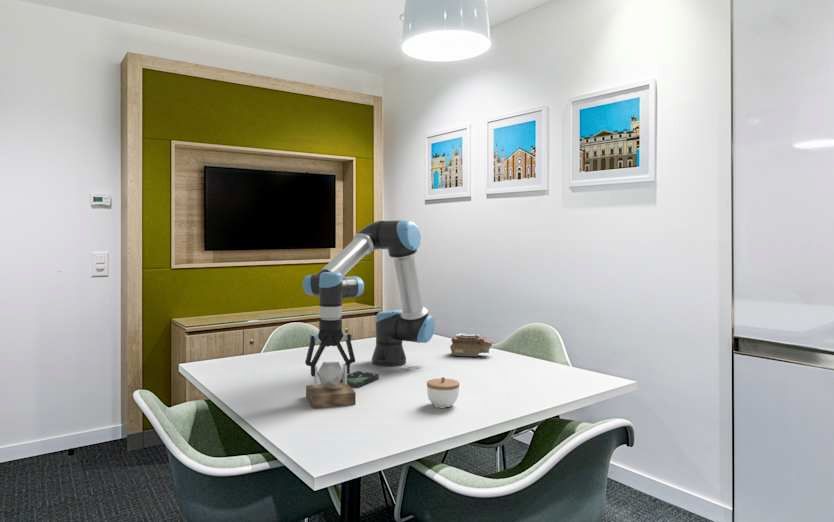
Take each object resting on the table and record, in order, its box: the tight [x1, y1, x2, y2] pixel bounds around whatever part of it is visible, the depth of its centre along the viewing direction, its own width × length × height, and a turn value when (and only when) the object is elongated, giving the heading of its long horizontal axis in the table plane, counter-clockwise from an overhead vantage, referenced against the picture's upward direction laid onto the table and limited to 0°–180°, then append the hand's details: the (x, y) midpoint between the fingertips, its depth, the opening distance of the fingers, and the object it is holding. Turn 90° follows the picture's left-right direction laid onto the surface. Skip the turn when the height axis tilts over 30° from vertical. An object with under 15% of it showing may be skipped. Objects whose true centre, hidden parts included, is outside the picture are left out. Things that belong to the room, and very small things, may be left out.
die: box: [318, 361, 343, 386], centre depth 189 cm, size 8×9×10 cm
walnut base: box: [305, 382, 357, 409], centre depth 189 cm, size 14×14×4 cm
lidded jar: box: [426, 376, 460, 408], centre depth 185 cm, size 11×11×9 cm
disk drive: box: [339, 370, 380, 389], centre depth 215 cm, size 10×3×15 cm
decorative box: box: [449, 333, 494, 357], centre depth 266 cm, size 13×20×10 cm, turn 70°
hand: (330, 384), depth 189 cm, fingers closed on die, 9 cm apart
